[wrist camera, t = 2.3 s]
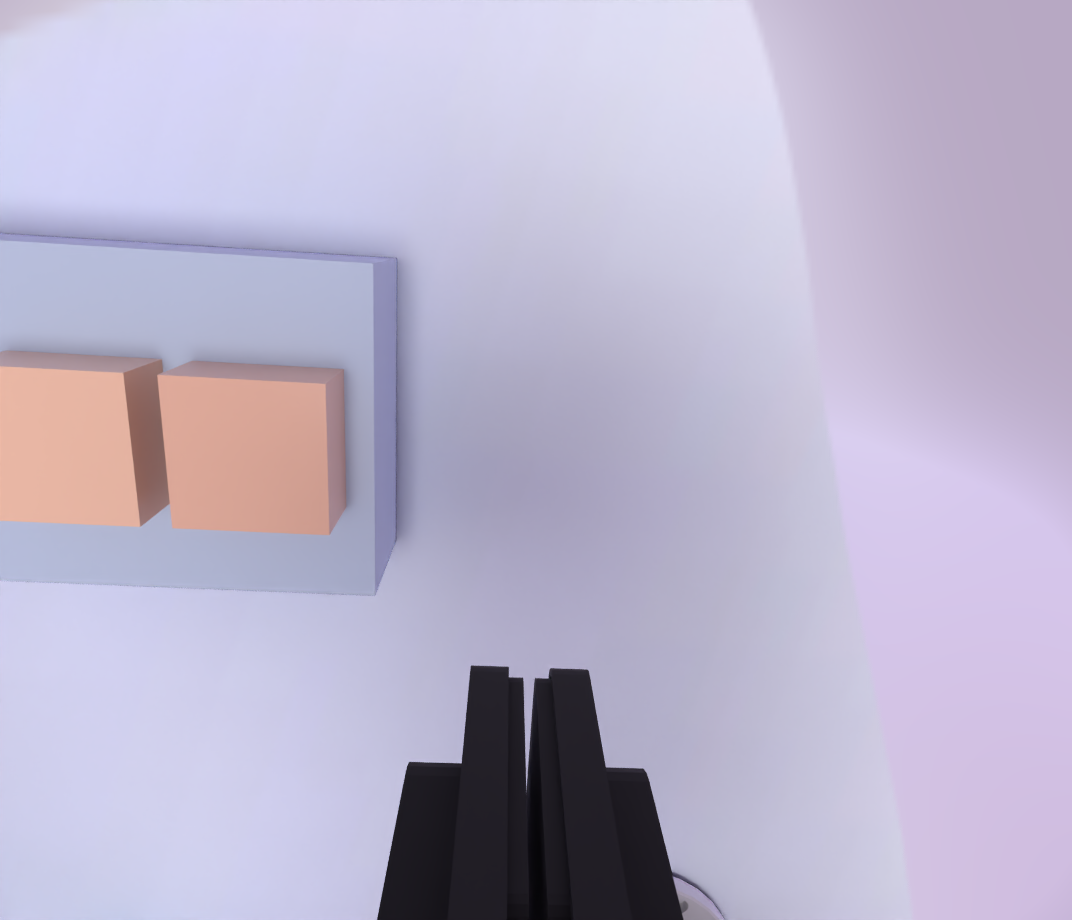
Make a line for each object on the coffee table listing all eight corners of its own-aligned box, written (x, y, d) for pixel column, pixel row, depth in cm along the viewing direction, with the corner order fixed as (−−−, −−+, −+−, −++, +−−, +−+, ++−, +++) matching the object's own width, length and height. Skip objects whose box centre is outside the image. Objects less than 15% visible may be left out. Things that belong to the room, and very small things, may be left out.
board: (396, 258, 28) (373, 263, 23) (395, 540, 32) (375, 595, 27) (-1, 233, 27) (-111, 233, 22) (44, 525, 31) (-42, 578, 26)
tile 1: (343, 368, 24) (325, 384, 22) (346, 507, 26) (329, 535, 23) (192, 360, 24) (157, 374, 22) (204, 500, 25) (172, 528, 23)
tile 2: (162, 358, 24) (123, 372, 22) (175, 499, 25) (140, 526, 23) (6, 350, 24) (-50, 363, 21) (29, 492, 25) (-21, 519, 23)
